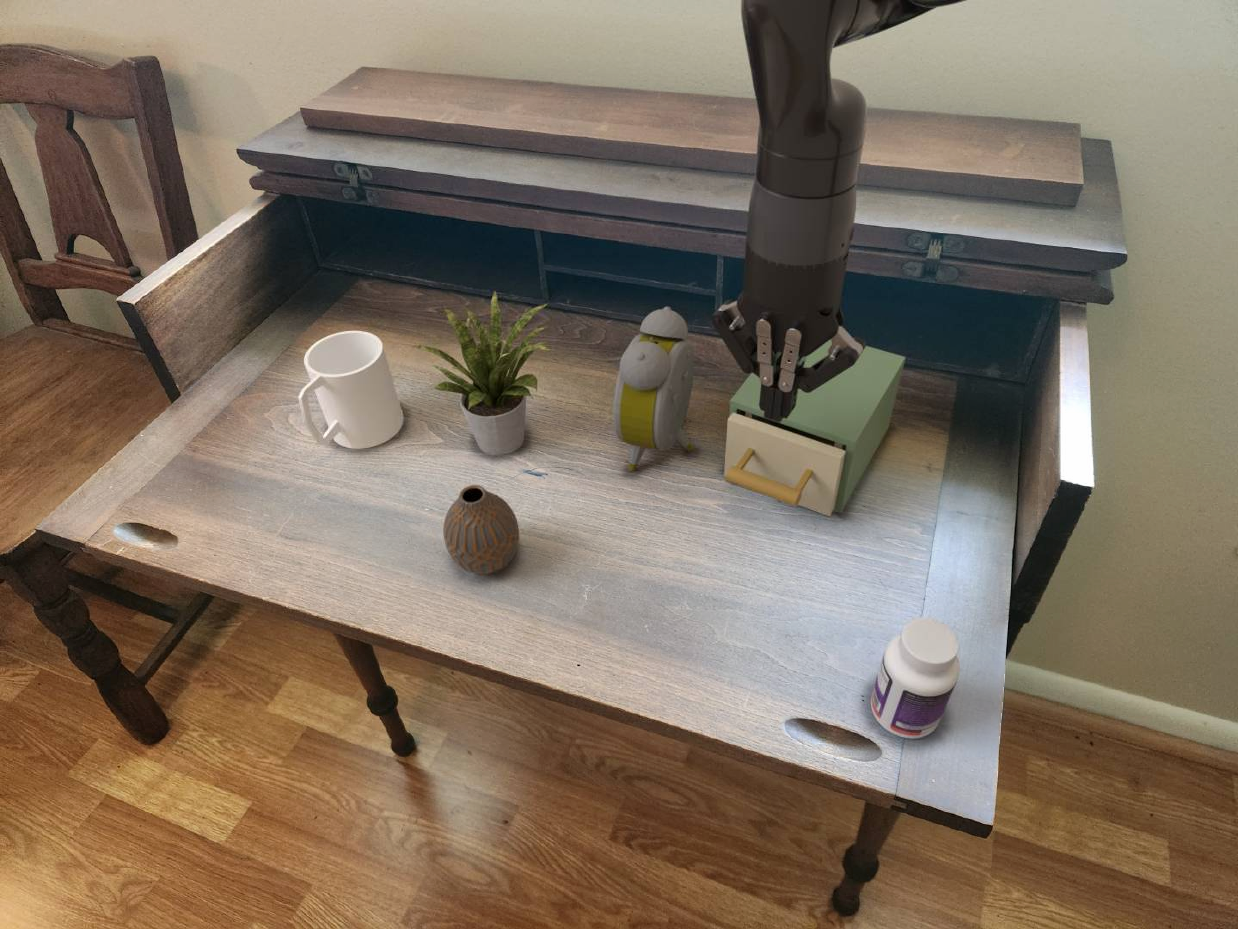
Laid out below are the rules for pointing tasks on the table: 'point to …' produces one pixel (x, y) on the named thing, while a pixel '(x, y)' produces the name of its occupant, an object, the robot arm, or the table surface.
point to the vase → (481, 531)
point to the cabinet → (841, 409)
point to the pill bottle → (916, 678)
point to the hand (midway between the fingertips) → (776, 414)
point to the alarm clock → (654, 386)
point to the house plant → (492, 380)
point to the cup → (351, 390)
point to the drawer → (783, 462)
